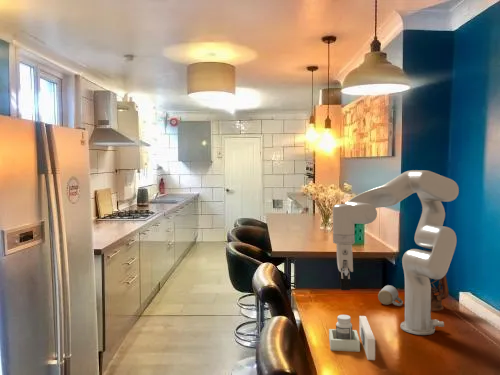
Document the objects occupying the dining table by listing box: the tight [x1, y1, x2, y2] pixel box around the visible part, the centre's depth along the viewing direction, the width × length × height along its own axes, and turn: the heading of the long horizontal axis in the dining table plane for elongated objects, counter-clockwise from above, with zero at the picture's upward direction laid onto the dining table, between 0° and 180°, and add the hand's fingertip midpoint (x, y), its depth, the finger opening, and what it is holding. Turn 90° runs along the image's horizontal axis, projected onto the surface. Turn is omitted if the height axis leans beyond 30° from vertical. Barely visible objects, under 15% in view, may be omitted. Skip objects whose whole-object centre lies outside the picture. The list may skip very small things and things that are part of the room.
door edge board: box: [358, 315, 376, 361], centre depth 148 cm, size 3×22×7 cm, turn 172°
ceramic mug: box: [377, 284, 404, 307], centre depth 193 cm, size 11×8×8 cm
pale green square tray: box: [328, 328, 361, 353], centre depth 149 cm, size 10×10×4 cm
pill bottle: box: [335, 314, 353, 340], centre depth 149 cm, size 6×6×10 cm
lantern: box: [423, 247, 450, 312], centre depth 189 cm, size 17×13×30 cm
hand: (344, 285), depth 148 cm, fingers open, 9 cm apart
